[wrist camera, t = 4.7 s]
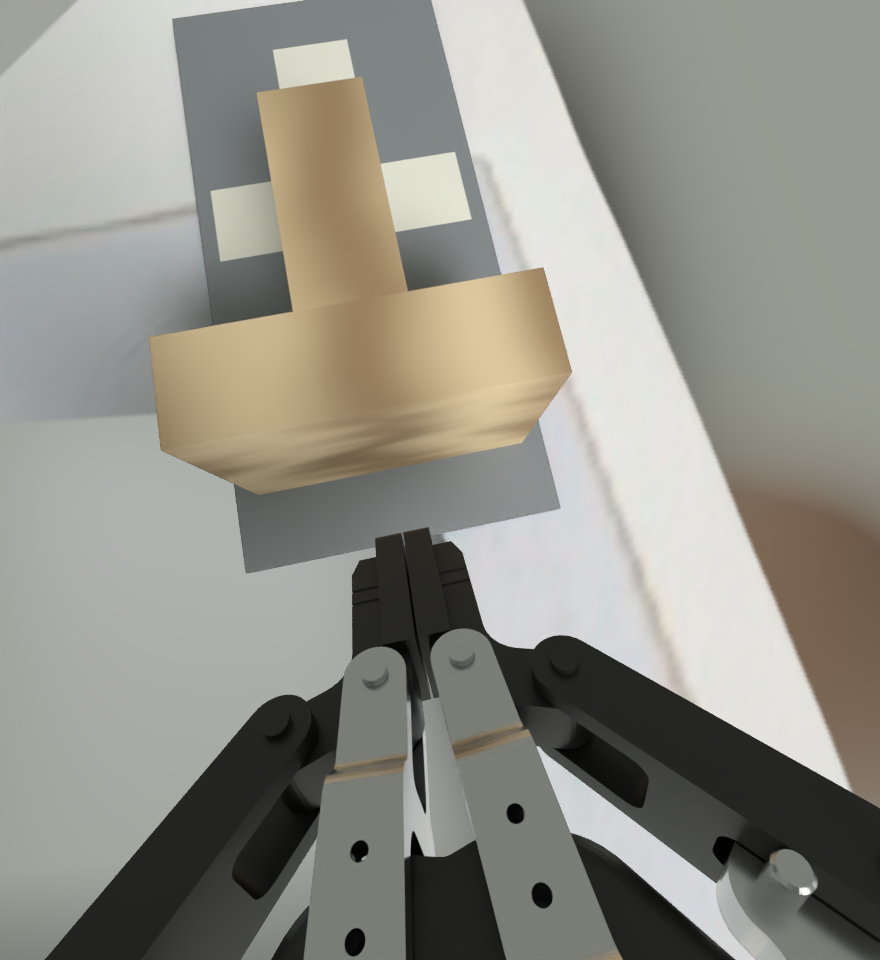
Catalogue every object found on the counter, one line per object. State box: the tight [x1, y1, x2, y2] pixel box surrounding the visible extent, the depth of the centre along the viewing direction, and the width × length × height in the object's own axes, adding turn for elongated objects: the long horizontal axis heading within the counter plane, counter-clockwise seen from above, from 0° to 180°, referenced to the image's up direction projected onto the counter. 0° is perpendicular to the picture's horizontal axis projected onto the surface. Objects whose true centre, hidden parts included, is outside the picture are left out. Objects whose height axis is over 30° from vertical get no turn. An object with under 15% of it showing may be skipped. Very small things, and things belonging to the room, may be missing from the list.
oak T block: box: [149, 77, 572, 495], centre depth 19 cm, size 12×12×8 cm
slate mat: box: [172, 0, 560, 573], centre depth 24 cm, size 14×30×1 cm, turn 12°
